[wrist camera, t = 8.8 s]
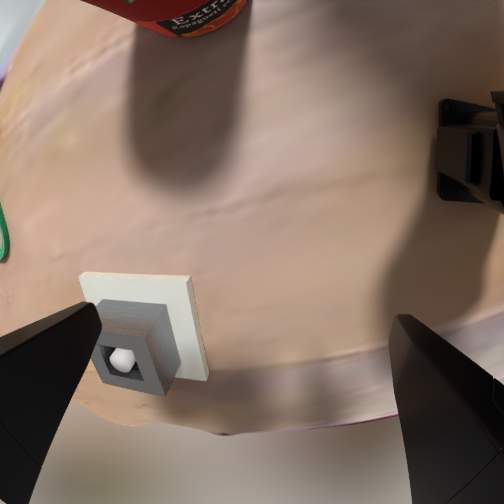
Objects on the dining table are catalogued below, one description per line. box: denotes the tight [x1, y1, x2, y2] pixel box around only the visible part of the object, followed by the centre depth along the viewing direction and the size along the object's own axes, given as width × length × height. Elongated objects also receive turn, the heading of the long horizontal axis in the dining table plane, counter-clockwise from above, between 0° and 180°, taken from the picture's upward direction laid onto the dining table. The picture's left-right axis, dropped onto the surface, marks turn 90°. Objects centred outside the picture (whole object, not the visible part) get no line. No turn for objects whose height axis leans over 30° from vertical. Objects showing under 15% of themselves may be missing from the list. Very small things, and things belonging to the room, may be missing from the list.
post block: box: [79, 272, 209, 381], centre depth 23 cm, size 10×10×5 cm
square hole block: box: [91, 299, 181, 396], centre depth 22 cm, size 6×6×4 cm
